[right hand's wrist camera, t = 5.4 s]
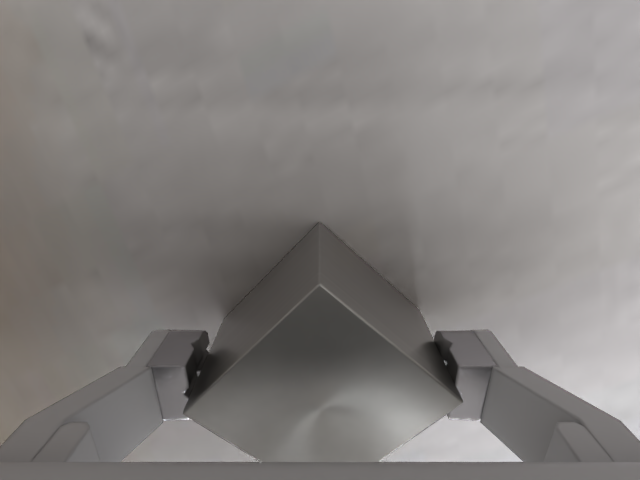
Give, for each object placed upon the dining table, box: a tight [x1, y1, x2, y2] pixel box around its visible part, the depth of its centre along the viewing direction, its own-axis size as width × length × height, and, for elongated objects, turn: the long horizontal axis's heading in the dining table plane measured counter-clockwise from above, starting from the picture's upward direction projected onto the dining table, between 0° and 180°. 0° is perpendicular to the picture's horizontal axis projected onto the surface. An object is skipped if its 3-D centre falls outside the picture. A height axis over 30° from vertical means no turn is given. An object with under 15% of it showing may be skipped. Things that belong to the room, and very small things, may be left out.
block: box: [183, 222, 463, 462], centre depth 10 cm, size 5×5×4 cm
